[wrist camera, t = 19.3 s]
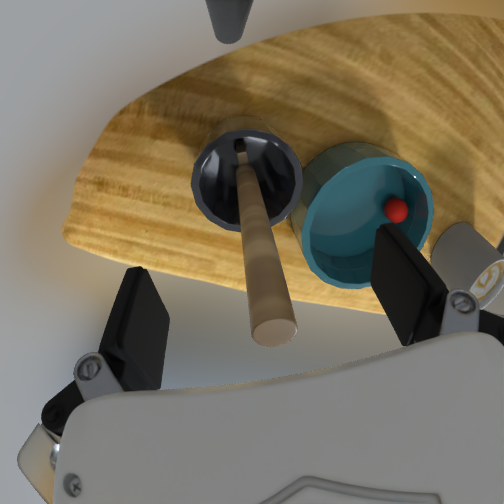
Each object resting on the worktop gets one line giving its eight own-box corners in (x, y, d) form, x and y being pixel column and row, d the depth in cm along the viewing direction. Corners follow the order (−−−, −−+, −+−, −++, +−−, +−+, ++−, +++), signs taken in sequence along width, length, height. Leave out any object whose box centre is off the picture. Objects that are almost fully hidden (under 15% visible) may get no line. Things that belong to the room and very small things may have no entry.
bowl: (282, 149, 28) (295, 166, 23) (410, 139, 28) (440, 154, 23) (295, 268, 37) (305, 300, 32) (400, 248, 36) (420, 274, 31)
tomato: (382, 214, 30) (394, 191, 29) (378, 214, 33) (389, 193, 32) (403, 228, 29) (414, 205, 28) (397, 227, 32) (408, 206, 31)
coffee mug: (442, 221, 34) (483, 261, 26) (480, 223, 35) (517, 257, 27) (415, 291, 42) (443, 334, 34) (453, 286, 43) (481, 323, 34)
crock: (194, 124, 26) (179, 142, 18) (276, 109, 25) (296, 121, 18) (211, 197, 30) (205, 240, 23) (285, 183, 30) (306, 223, 23)
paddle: (231, 141, 27) (242, 300, 8) (247, 139, 27) (295, 291, 8) (237, 174, 29) (258, 365, 10) (252, 172, 29) (299, 357, 10)
